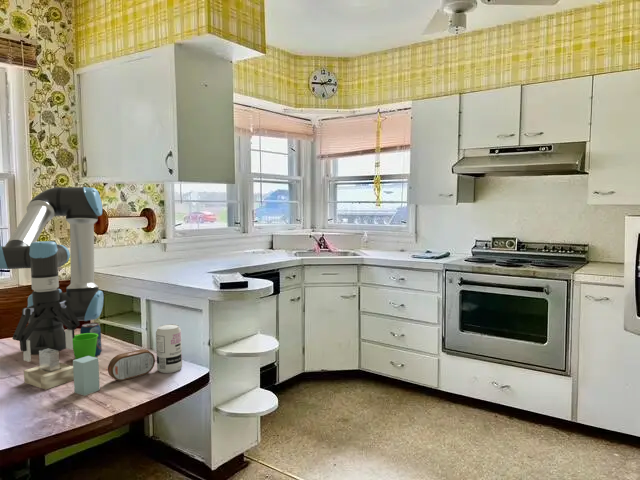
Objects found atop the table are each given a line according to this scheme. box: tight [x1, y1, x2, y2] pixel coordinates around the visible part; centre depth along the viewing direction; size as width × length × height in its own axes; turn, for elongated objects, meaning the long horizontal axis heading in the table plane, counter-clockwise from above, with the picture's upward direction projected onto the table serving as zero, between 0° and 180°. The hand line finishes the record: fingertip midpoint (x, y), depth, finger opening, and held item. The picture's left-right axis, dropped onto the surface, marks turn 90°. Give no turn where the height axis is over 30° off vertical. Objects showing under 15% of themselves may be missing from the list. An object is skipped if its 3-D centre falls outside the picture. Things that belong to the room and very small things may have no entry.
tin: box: [107, 348, 156, 382], centre depth 153 cm, size 15×3×8 cm, turn 136°
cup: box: [72, 333, 99, 360], centre depth 163 cm, size 9×9×11 cm
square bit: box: [72, 356, 101, 396], centre depth 141 cm, size 5×5×10 cm
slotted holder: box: [23, 362, 74, 390], centre depth 150 cm, size 10×12×4 cm
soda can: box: [79, 322, 102, 358], centre depth 175 cm, size 7×7×12 cm
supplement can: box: [155, 323, 183, 374], centre depth 159 cm, size 8×8×15 cm
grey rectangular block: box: [38, 348, 61, 372], centre depth 150 cm, size 3×6×10 cm, turn 60°
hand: (49, 354), depth 150 cm, fingers open, 13 cm apart
